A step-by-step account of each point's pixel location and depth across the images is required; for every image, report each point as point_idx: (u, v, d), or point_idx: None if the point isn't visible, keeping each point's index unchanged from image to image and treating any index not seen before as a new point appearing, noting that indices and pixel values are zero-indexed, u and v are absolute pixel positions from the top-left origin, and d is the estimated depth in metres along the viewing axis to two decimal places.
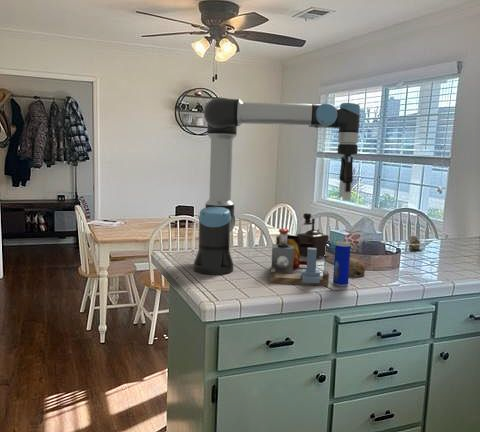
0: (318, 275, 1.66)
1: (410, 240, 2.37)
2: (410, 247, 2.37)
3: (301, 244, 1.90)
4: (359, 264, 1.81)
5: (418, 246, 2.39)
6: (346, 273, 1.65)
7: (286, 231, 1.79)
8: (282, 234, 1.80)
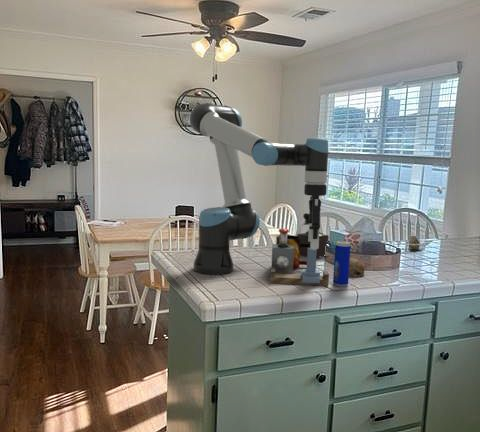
0: (318, 275, 1.66)
1: (410, 240, 2.37)
2: (410, 247, 2.37)
3: (301, 244, 1.90)
4: (359, 264, 1.81)
5: (418, 246, 2.39)
6: (346, 273, 1.65)
7: (286, 231, 1.79)
8: (282, 234, 1.80)
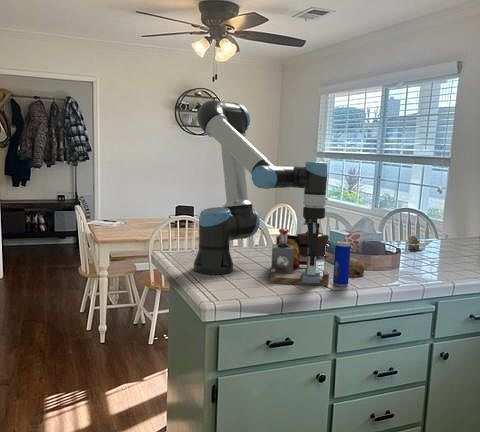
0: (318, 275, 1.66)
1: (409, 240, 2.37)
2: (409, 247, 2.37)
3: (301, 244, 1.90)
4: (359, 264, 1.81)
5: (417, 246, 2.39)
6: (346, 273, 1.65)
7: (286, 231, 1.79)
8: (282, 234, 1.80)
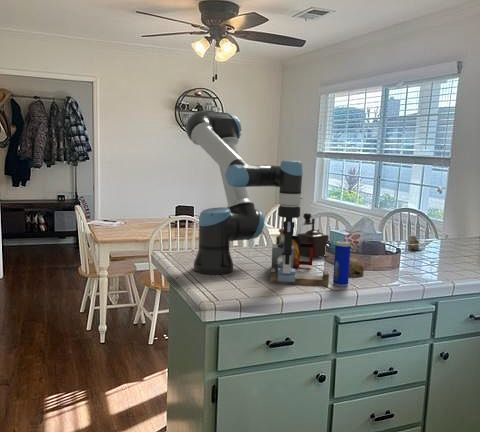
0: (293, 274, 1.67)
1: (409, 240, 2.37)
2: (409, 247, 2.37)
3: (301, 244, 1.90)
4: (358, 264, 1.82)
5: (417, 246, 2.39)
6: (346, 273, 1.65)
7: None
8: (282, 234, 1.80)
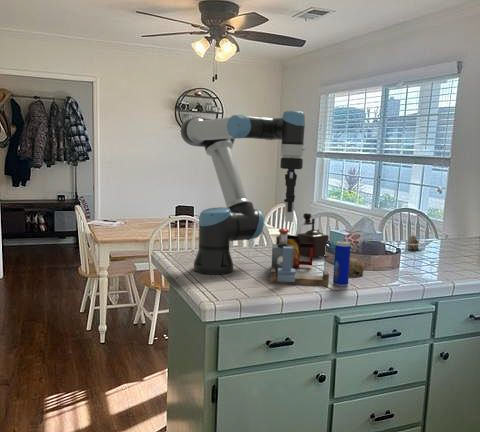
0: (293, 274, 1.67)
1: (409, 240, 2.37)
2: (409, 247, 2.37)
3: (301, 244, 1.90)
4: (358, 264, 1.82)
5: (417, 246, 2.39)
6: (346, 273, 1.65)
7: (286, 231, 1.79)
8: (282, 234, 1.80)
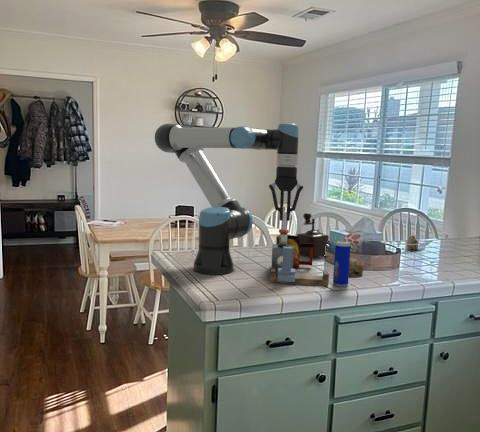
0: (293, 274, 1.67)
1: (408, 240, 2.37)
2: (408, 247, 2.38)
3: (301, 244, 1.90)
4: (358, 263, 1.82)
5: (416, 246, 2.39)
6: (346, 273, 1.65)
7: (286, 231, 1.79)
8: (282, 234, 1.80)
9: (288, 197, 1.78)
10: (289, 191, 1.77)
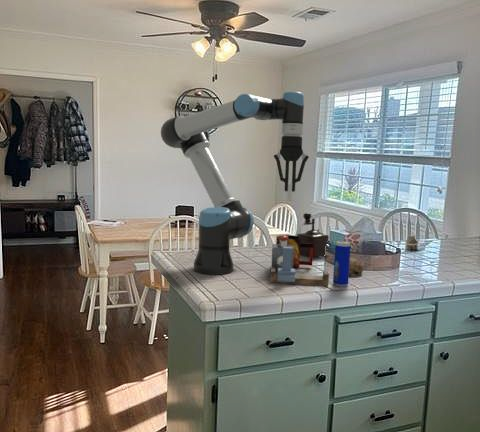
0: (293, 274, 1.67)
1: (408, 240, 2.37)
2: (408, 247, 2.38)
3: (301, 244, 1.90)
4: (357, 263, 1.82)
5: (416, 246, 2.39)
6: (346, 273, 1.65)
7: (286, 238, 1.80)
8: (282, 241, 1.80)
9: (293, 167, 1.75)
10: (294, 161, 1.74)
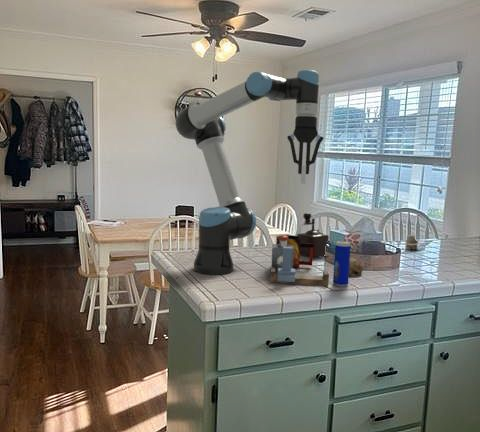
0: (293, 274, 1.67)
1: (407, 240, 2.37)
2: (407, 247, 2.38)
3: (301, 244, 1.90)
4: (357, 263, 1.82)
5: (416, 246, 2.39)
6: (346, 273, 1.65)
7: (286, 238, 1.80)
8: (282, 241, 1.80)
9: (307, 149, 1.69)
10: (309, 142, 1.68)
